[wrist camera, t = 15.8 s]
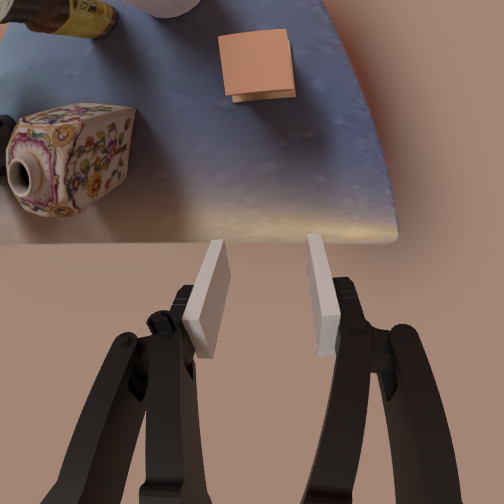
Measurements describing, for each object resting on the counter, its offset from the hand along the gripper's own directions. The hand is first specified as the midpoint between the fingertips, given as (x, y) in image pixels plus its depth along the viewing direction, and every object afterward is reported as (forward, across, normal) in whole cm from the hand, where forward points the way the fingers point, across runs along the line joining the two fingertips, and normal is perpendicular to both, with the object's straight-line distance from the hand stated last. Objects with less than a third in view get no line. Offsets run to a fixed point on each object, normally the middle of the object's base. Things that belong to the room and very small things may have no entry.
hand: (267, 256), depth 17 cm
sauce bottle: (+23, -22, +28) cm, 42 cm away
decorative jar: (+23, -25, +8) cm, 35 cm away
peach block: (+22, 0, +13) cm, 26 cm away
